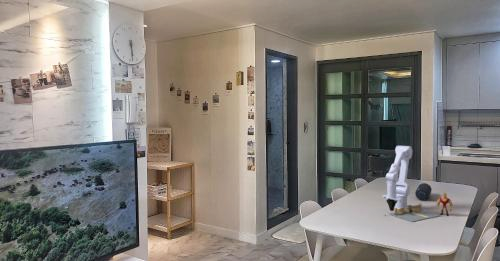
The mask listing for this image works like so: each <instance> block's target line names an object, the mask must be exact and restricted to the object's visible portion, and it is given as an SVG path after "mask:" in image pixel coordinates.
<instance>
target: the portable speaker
mask: <svg viewBox="0 0 500 261" xmlns="http://www.w3.org/2000/svg"><path fill="white" fill-rule="evenodd" d="M414 193H415V197H416V199H418V200H419V201H427V200H428V199H429V198H430V196H431V193H432V186H431V185H430V184H428V183H426V182H422V183H420V184H419V185H418V187H417V188H416V190H415V192H414Z"/></svg>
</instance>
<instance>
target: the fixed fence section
mask: <svg viewBox="0 0 500 261" xmlns="http://www.w3.org/2000/svg"><path fill="white" fill-rule="evenodd" d="M418 210H422V203H418V204H416V205H414V204H413V205H412V212H413V211H418Z"/></svg>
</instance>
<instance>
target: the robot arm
mask: <svg viewBox="0 0 500 261" xmlns="http://www.w3.org/2000/svg"><path fill="white" fill-rule="evenodd" d="M394 150H395V158H394V162H393V163H392V164H391V166H390V168H389V171H388V172H387V173H386V175H385V182H386V187H387V188H386V191H387V192H386V194H382V199H386V201H385V202H386V203H387V204H388V208H389V211H390V212H394V208H397V209H398V208H404V207H408V196H410V194H411V193H410V192H411V189H410V188H411V186H410V184H409V183H408V182H407V177H408V171H409V164H410V159H412V156H413V148H412V146H411V145H396V147H395V149H394Z"/></svg>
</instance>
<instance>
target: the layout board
mask: <svg viewBox="0 0 500 261" xmlns="http://www.w3.org/2000/svg"><path fill="white" fill-rule="evenodd" d="M388 215H389V216H393V217H396V218H399V219H401V220H404V221H408V222H411V223H414V222H415V223H416V222H418V221H423V220H428V219H429V220H430V219H433V218H438V217H441V215H442V214H441V215H440V214H437V213H434V212H431V211H427V210H424V209H421V210H418V211H413V212H412V213H410V212H408V213H402V214H397V215H394V212H391V213H390V212H389V213H388Z"/></svg>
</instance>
